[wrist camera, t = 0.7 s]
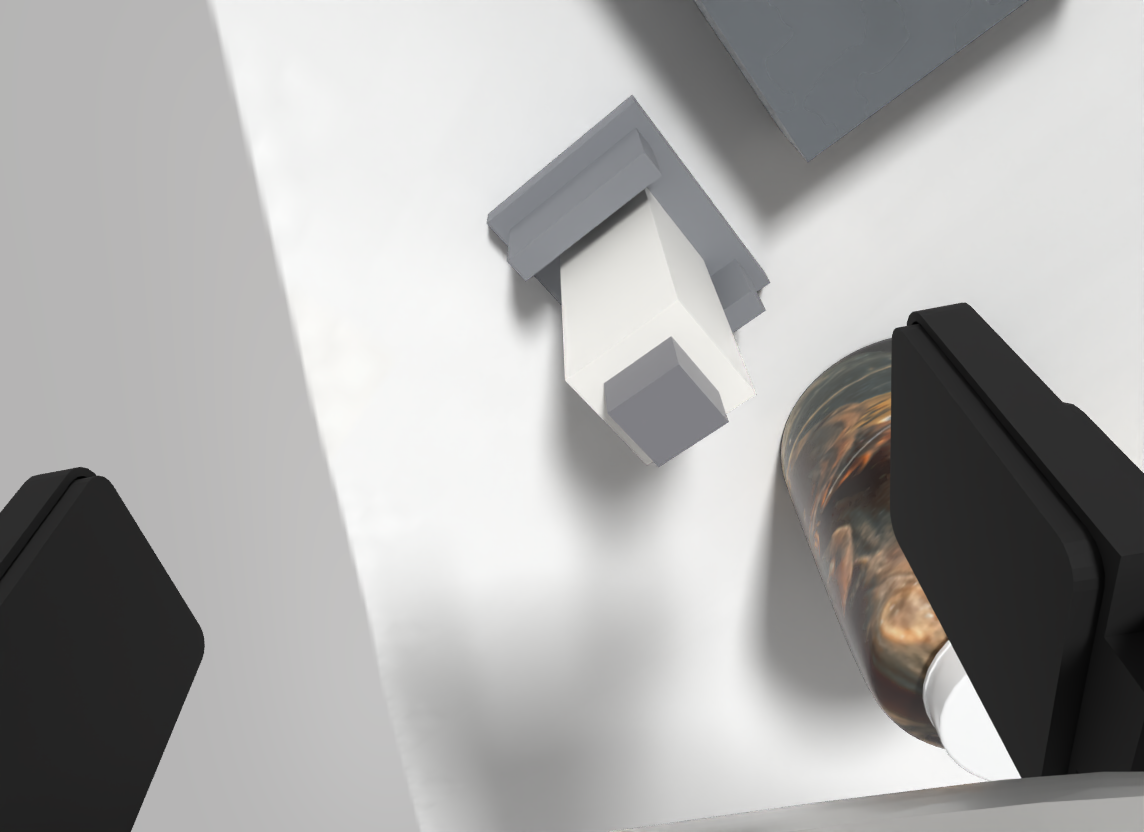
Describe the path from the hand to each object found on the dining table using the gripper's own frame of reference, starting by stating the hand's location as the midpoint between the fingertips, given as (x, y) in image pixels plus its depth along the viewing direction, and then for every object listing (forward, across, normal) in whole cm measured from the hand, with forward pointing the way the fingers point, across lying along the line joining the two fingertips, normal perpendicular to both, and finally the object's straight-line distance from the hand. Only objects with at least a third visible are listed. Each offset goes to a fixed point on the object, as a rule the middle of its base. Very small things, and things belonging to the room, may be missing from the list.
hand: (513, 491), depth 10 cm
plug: (+23, -2, +7) cm, 24 cm away
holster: (+24, -2, +7) cm, 25 cm away
